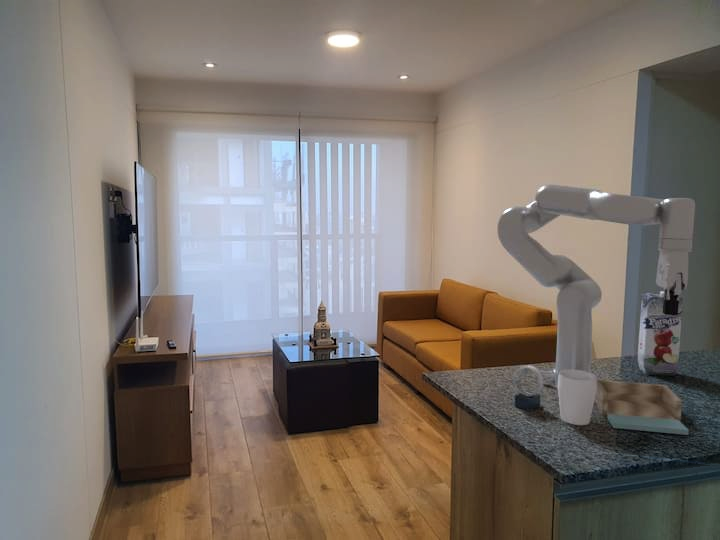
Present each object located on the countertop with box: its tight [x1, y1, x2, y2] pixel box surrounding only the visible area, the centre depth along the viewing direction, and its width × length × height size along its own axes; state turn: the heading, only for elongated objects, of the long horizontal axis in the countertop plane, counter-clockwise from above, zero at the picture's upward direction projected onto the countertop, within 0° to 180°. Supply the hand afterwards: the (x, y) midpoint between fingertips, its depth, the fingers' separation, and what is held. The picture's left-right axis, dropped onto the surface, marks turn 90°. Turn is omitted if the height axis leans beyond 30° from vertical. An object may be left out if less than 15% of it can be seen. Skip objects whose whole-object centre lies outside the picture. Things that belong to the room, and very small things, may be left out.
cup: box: [557, 370, 598, 426], centre depth 132 cm, size 9×9×12 cm
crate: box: [594, 379, 683, 422], centre depth 139 cm, size 18×12×6 cm
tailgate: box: [606, 413, 690, 436], centre depth 128 cm, size 16×1×7 cm
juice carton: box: [637, 290, 683, 377], centre depth 172 cm, size 9×10×27 cm
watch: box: [512, 364, 545, 412], centre depth 142 cm, size 6×8×11 cm
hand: (670, 314), depth 141 cm, fingers closed
